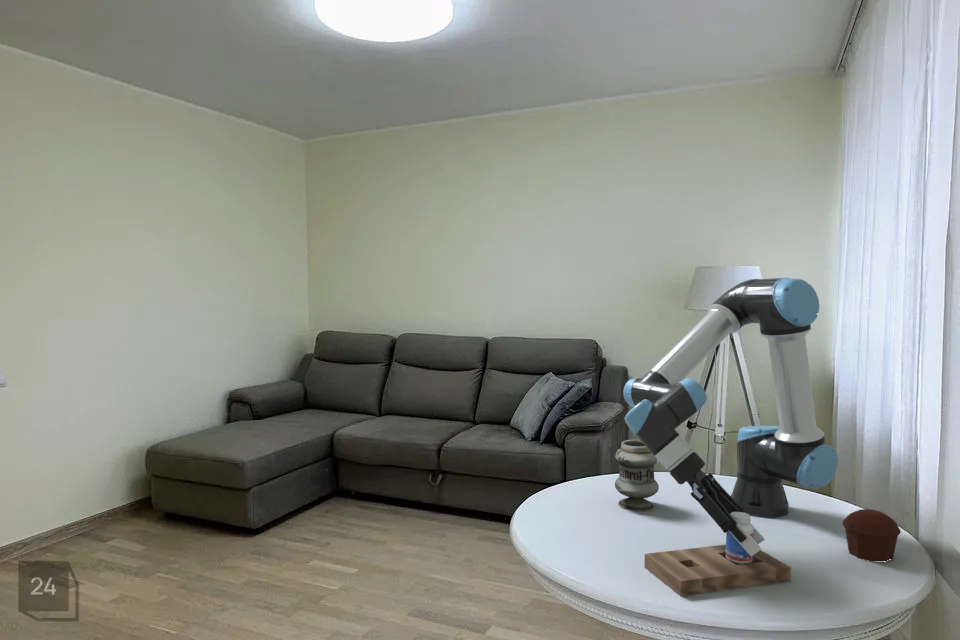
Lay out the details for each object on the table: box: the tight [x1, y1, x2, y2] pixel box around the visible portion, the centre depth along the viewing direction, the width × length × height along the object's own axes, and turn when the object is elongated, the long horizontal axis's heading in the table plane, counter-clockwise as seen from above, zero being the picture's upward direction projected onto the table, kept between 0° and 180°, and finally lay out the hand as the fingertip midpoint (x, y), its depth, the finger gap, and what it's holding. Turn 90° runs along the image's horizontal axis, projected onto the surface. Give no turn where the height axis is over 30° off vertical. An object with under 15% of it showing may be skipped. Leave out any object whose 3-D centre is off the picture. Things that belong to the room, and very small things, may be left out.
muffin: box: [842, 508, 902, 562], centre depth 149 cm, size 12×11×10 cm
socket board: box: [644, 544, 792, 597], centre depth 138 cm, size 26×14×3 cm, turn 105°
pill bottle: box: [725, 512, 753, 565], centre depth 139 cm, size 6×5×10 cm
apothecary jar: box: [614, 439, 660, 512], centre depth 183 cm, size 12×12×18 cm
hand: (757, 547), depth 138 cm, fingers closed on pill bottle, 5 cm apart
